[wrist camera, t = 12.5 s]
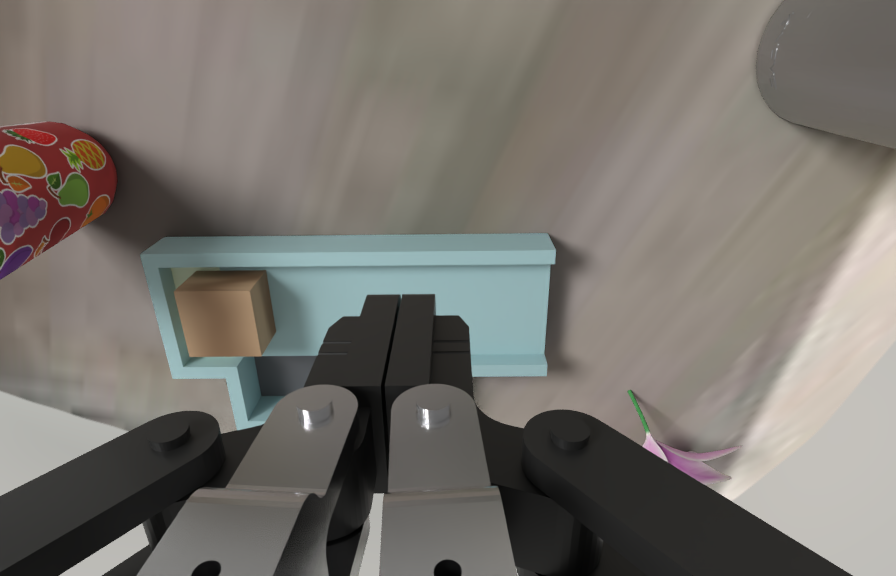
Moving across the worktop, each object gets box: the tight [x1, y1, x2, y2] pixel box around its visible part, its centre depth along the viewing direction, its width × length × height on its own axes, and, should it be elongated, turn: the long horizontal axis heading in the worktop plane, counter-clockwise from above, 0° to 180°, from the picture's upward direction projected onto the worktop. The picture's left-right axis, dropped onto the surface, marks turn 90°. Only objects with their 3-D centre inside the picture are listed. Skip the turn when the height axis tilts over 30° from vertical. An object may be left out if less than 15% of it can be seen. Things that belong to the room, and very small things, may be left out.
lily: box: [628, 390, 742, 485], centre depth 43 cm, size 12×12×10 cm
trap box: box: [140, 233, 556, 430], centre depth 41 cm, size 28×15×4 cm, turn 91°
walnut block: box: [174, 270, 276, 357], centre depth 38 cm, size 5×5×4 cm
